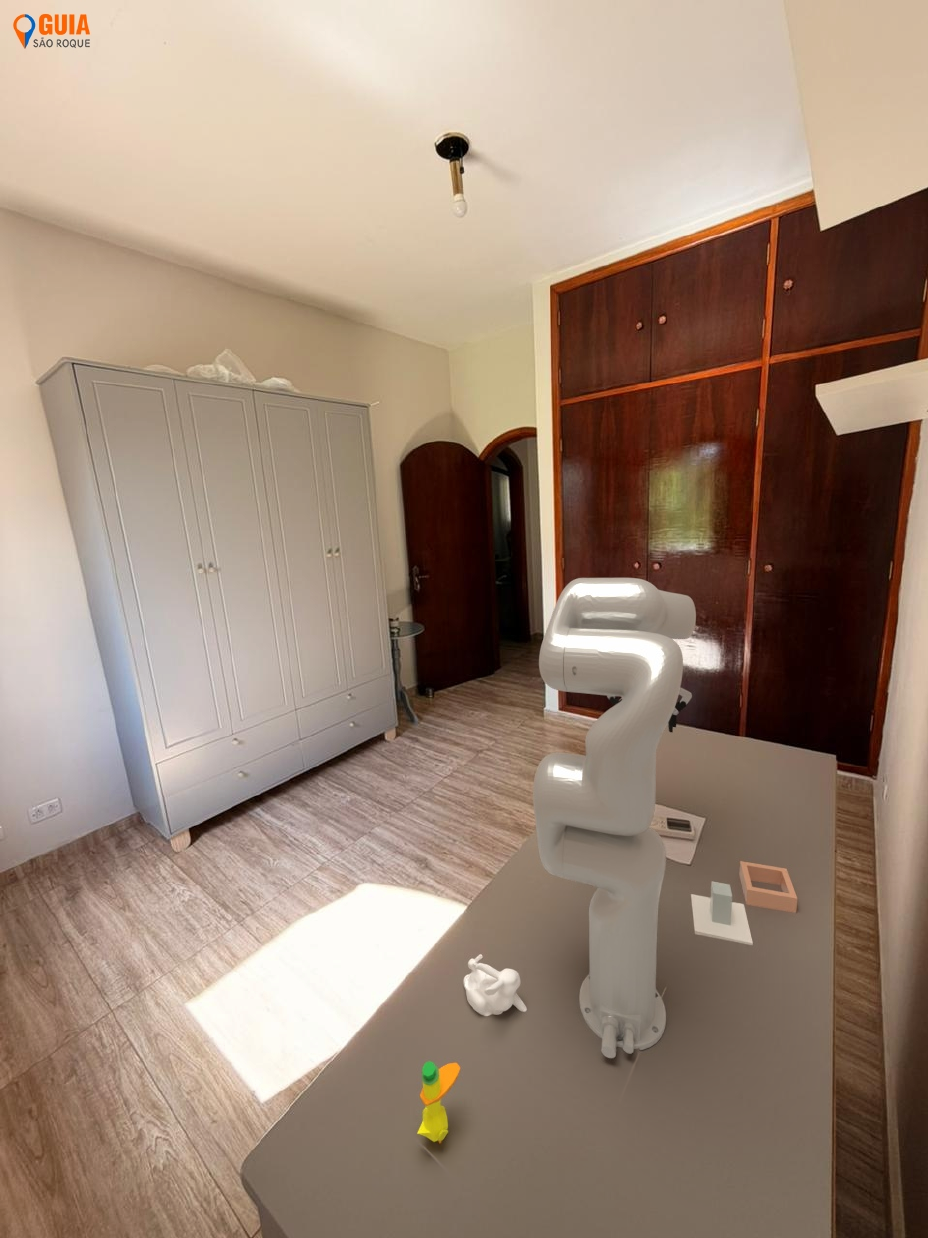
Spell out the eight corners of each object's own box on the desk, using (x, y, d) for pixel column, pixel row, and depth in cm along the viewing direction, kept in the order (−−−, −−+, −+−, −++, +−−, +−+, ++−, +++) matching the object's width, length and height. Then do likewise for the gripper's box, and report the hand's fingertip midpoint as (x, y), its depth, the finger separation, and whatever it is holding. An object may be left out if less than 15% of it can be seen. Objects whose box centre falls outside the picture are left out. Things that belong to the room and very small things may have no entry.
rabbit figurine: (537, 1015, 77) (536, 963, 75) (511, 1057, 71) (508, 1002, 69) (475, 974, 84) (472, 926, 82) (447, 1009, 79) (442, 958, 77)
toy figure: (454, 1104, 66) (448, 1032, 63) (471, 1129, 63) (466, 1054, 61) (411, 1147, 62) (403, 1071, 59) (428, 1175, 59) (420, 1097, 56)
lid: (752, 948, 85) (755, 913, 84) (694, 935, 88) (696, 902, 87) (743, 908, 93) (745, 876, 92) (690, 898, 97) (692, 867, 95)
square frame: (795, 919, 91) (797, 898, 90) (745, 910, 94) (747, 889, 93) (784, 888, 98) (786, 868, 97) (738, 880, 101) (740, 861, 100)
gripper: (603, 654, 103) (603, 731, 106) (695, 658, 97) (691, 739, 101) (605, 645, 110) (605, 717, 113) (691, 647, 104) (688, 724, 108)
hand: (646, 727), depth 107 cm, fingers open, 9 cm apart
